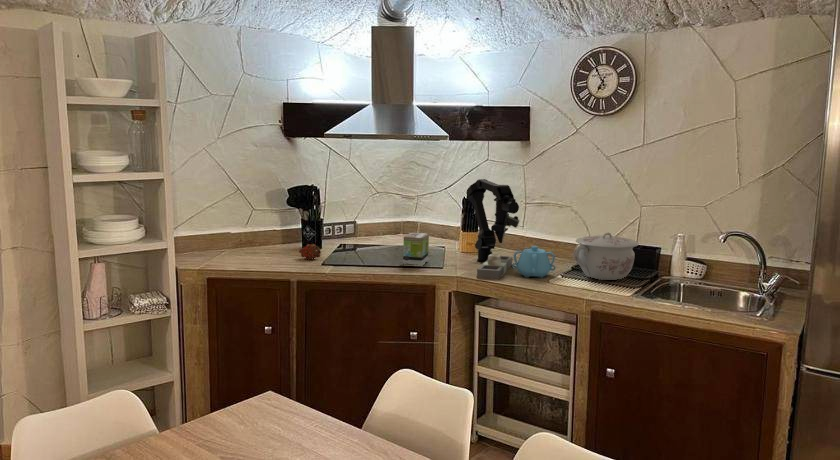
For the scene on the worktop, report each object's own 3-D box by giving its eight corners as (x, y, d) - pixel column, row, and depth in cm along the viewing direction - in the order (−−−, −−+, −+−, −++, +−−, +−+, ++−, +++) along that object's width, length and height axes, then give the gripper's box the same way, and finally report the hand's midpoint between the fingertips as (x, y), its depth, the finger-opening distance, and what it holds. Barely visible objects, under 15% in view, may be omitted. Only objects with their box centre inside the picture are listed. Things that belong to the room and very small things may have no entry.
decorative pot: (559, 277, 302) (560, 247, 299) (530, 280, 294) (531, 250, 292) (536, 270, 316) (537, 242, 314) (508, 273, 308) (509, 244, 306)
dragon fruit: (321, 263, 333) (300, 265, 338) (326, 251, 339) (306, 253, 344) (314, 251, 328) (293, 253, 333) (319, 239, 334) (299, 241, 338)
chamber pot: (634, 273, 311) (636, 229, 308) (639, 286, 285) (642, 239, 282) (572, 269, 317) (574, 226, 314) (572, 282, 291) (574, 236, 288)
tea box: (422, 268, 318) (423, 237, 316) (402, 266, 320) (402, 236, 318) (428, 261, 333) (429, 232, 331) (409, 260, 335) (409, 231, 333)
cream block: (487, 264, 308) (488, 256, 307) (490, 262, 313) (490, 254, 312) (498, 265, 306) (498, 256, 306) (500, 263, 311) (500, 254, 310)
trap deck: (476, 277, 298) (477, 269, 298) (492, 263, 330) (492, 255, 330) (499, 279, 295) (499, 270, 295) (512, 264, 327) (512, 256, 327)
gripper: (514, 214, 308) (513, 247, 311) (521, 209, 326) (520, 241, 328) (491, 213, 312) (490, 246, 314) (499, 208, 329) (498, 239, 332)
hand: (500, 243), depth 322 cm, fingers closed
